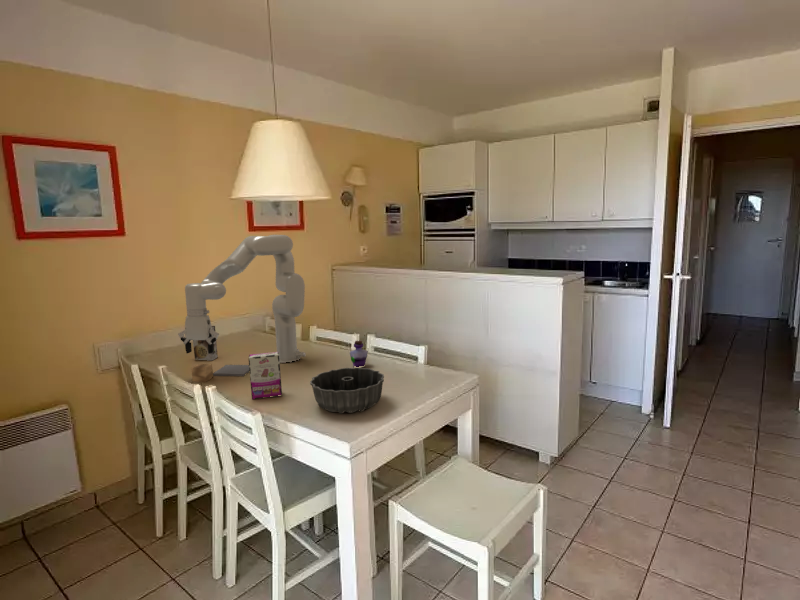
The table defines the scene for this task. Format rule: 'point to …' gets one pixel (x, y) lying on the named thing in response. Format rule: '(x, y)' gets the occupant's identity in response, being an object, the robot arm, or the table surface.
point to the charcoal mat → (232, 370)
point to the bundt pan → (347, 389)
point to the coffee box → (204, 349)
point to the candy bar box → (265, 375)
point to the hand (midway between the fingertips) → (200, 352)
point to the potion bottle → (358, 354)
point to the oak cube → (202, 372)
